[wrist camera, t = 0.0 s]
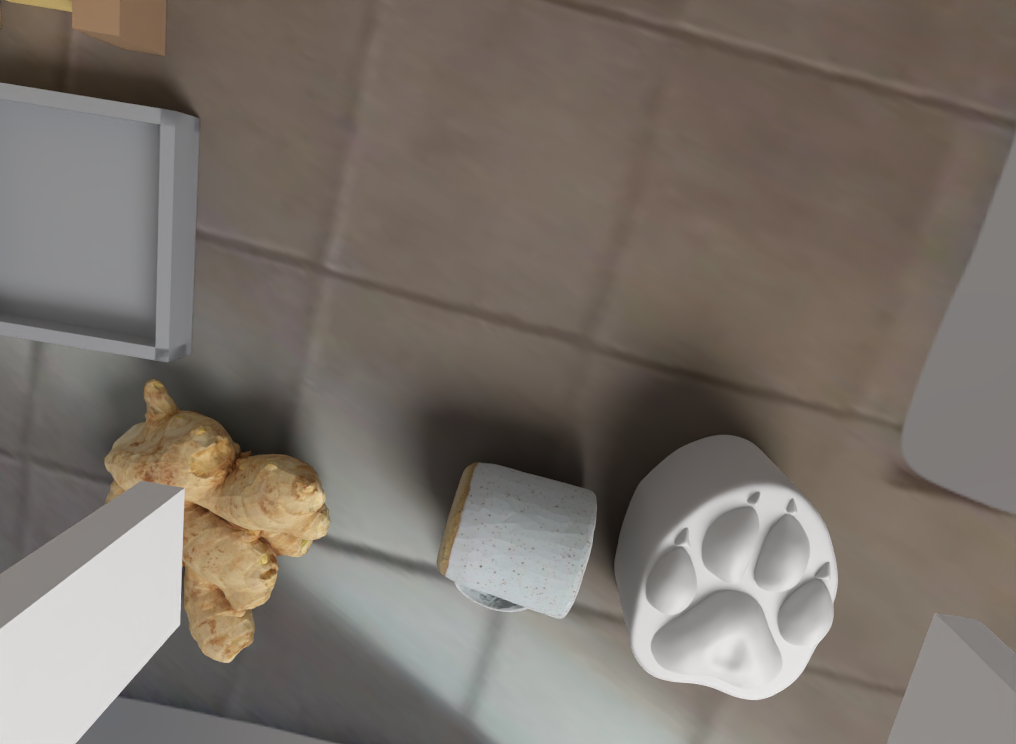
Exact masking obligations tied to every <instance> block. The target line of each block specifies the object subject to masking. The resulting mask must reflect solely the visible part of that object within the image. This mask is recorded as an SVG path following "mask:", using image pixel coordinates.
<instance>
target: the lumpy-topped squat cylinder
mask: <svg viewBox="0 0 1016 744" xmlns="http://www.w3.org/2000/svg"><path fill="white" fill-rule="evenodd" d="M614 572H615V578H616V583H617V587H618V592H619V597H620V601H621V606H622V610H623V615H624V619H625V624H626V628H627V632H628V637H629V642H630V646H631V650H632V652H633V654H634V656H635V658H636V660H637V661H638V663H639V664H640V665H641V666H642V668H643V669H644V670H645V671H647V672H648V673H649V674H651V675H653V676H654V677H657V678H659V679H663V680H667V681H672V682H683V683H695V684H700V685H705V686H709V687H712V688H715V689H717V690H720V691H722V692H725V693H727V694H729V695H732V696H735V697H738V698H742V699H748V700H759V699H763V698H767V697H770V696H773V695H775V694H776V693H778V692H780V691H782V690H783V689H785V688H786V687H788V686H789V685H790V684H791V683H793V682H794V681H795V680H796V679H797V678H798V677H799V675H800V674H801V673H802V671H803V670H804V669H805V667H806V665H807V663H808V661H809V659H810V657H811V655H812V653H813V651H814V649H815V648H816V646H817V644H818V642H820V641H821V640H822V639H823V638H824V637H825V635H826V634H827V632H828V631H829V629H830V627H831V625H832V621H833V616H834V609H833V602H834V599H835V596H836V592H837V586H838V573H837V565H836V559H835V554H834V549H833V545H832V541H831V538H830V534H829V531H828V529H827V527H826V525H825V523H824V521H823V519H822V517H821V516H820V514H819V513H818V511H817V510H816V509H815V507H814V506H813V505H812V504H811V503H810V501H809V500H808V499H807V498H806V497H805V496H804V495H803V493H802V492H801V491H800V490H799V489H798V488H797V487H796V486H795V485H794V484H793V483H792V482H791V481H790V480H789V479H788V478H787V477H786V475H785V474H784V473H783V472H782V471H781V470H780V469H779V468H778V467H777V466H776V465H775V464H774V463H773V462H772V461H771V460H770V459H769V458H768V457H767V456H766V455H765V454H764V453H763V452H762V451H761V450H760V449H759V448H758V447H757V446H756V445H755V444H753V443H752V442H750V441H748V440H746V439H744V438H741V437H737V436H733V435H715V436H710V437H706V438H703V439H700V440H697V441H694V442H692V443H689V444H687V445H685V446H683V447H681V448H679V449H677V450H676V451H674V452H673V453H672V454H670V455H669V456H668V457H666V458H665V459H664V460H663V461H662V462H661V463H659V464H658V465H657V466H656V467H655V468H654V469H653V470H652V471H651V472H650V473H649V474H648V475H647V476H646V477H645V478H644V479H643V480H642V481H641V482H640V483H639V485H638V486H637V488H636V490H635V492H634V494H633V496H632V499H631V501H630V504H629V506H628V509H627V512H626V515H625V518H624V521H623V524H622V528H621V531H620V535H619V540H618V546H617V551H616V556H615V563H614Z"/></svg>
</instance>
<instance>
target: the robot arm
mask: <svg viewBox="0 0 1016 744" xmlns="http://www.w3.org/2000/svg"><path fill="white" fill-rule="evenodd" d="M184 495H185V488H182V487H176V486H170V485H164V484H158V483H152V482H146V481H140V482H139V483H137V484H136V485H134V486H133V487H131V488H130V489H128V490H127V491H125V492H123V493H122V494H120V495H119V496H117V497H116V498H114V499H113V500H111V501H110V502H108V503H107V504H105V505H104V506H102V507H101V508H99V509H98V510H96V511H95V512H93V513H92V514H90V515H89V516H87V517H86V518H84V519H83V520H81V521H80V522H78V523H77V524H75V525H74V526H72V527H71V528H69V529H68V530H66V531H65V532H63V533H62V534H60V535H59V536H57V537H56V538H54V539H53V540H51V541H49V542H48V543H46V544H45V545H43V546H42V547H40V548H39V549H37V550H36V551H34V552H33V553H31V554H30V555H28V556H27V557H25V558H24V559H22V560H21V561H19V562H18V563H16V564H15V565H13V566H12V567H10V568H9V569H7V570H6V571H4V572H3V573H1V574H0V744H75V743H76V742H77V741H78V740H79V739H80V738H81V737H82V735H83V734H84V733H85V732H86V731H87V730H88V729H89V728H90V726H91V725H92V724H93V723H94V722H95V721H96V720H97V718H98V717H99V716H100V715H101V714H102V713H103V711H104V710H105V709H106V708H107V707H108V706H109V704H111V703H112V701H113V700H114V699H115V698H116V697H117V696H118V695H119V693H120V692H121V691H122V690H123V689H124V688H125V687H126V685H127V684H128V683H129V682H130V681H131V680H132V679H133V678H134V676H135V675H136V674H137V673H138V672H139V671H140V670H141V668H142V667H143V666H144V665H145V664H146V663H147V662H148V660H149V659H150V658H151V657H152V656H153V655H154V654H155V653H156V651H157V650H158V649H159V648H160V647H161V646H162V645H163V643H164V642H165V641H166V640H167V639H168V638H169V637H170V635H171V634H172V633H173V632H174V631H175V630H176V629H177V628H178V626H179V625H180V607H181V579H182V551H183V523H184ZM887 744H1016V653H1015V652H1013V651H1012V650H1011V649H1010V648H1009V647H1008V646H1007V645H1006V644H1005V643H1004V642H1002V641H1001V640H1000V639H999V638H998V637H997V636H996V635H995V634H994V633H993V632H991V631H990V630H989V629H988V628H987V627H986V626H985V625H984V624H983V623H982V622H980V621H979V620H975V619H969V618H963V617H957V616H951V615H945V614H939V613H935V614H934V616H933V619H932V622H931V624H930V627H929V630H928V633H927V635H926V638H925V641H924V643H923V646H922V649H921V652H920V654H919V657H918V660H917V662H916V665H915V668H914V670H913V673H912V676H911V679H910V681H909V684H908V687H907V689H906V692H905V695H904V698H903V700H902V703H901V706H900V708H899V711H898V714H897V717H896V719H895V722H894V725H893V727H892V730H891V733H890V736H889V738H888V741H887Z"/></svg>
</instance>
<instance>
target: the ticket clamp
mask: <svg viewBox="0 0 1016 744" xmlns="http://www.w3.org/2000/svg"><path fill="white" fill-rule="evenodd" d="M166 3H167V0H72V28H73V29H75V30H78V31H80V32H82V33H85V34H87V35H90V36H92V37H95V38H97V39H100V40H102V41H104V42H107V43H109V44H112V45H114V46H117V47H119V48H122V49H125V50H131V51H137V52H143V53H150V54H156V55H162V56H165V45H166ZM0 29H1V6H0Z"/></svg>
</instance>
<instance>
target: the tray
mask: <svg viewBox="0 0 1016 744" xmlns="http://www.w3.org/2000/svg"><path fill="white" fill-rule="evenodd" d="M199 128H200V118H197V117H194V116H191V115H187V114H184V113H181V112H177V111H172V110H166V109H160V108H154V107H148V106H142V105H136V104H129V103H123V102H117V101H111V100H105V99H99V98H93V97H86V96H80V95H74V94H68V93H62V92H56V91H49V90H43V89H37V88H31V87H25V86H19V85H13V84H6V83H0V335H5V336H11V337H17V338H23V339H29V340H35V341H41V342H47V343H53V344H59V345H65V346H71V347H77V348H83V349H89V350H96V351H102V352H108V353H114V354H120V355H126V356H132V357H138V358H144V359H150V360H156V361H162V362H168V363H169V362H171V361H174V360H176V359H179V358H182V357H184V356H187V355H189V354H191V345H192V317H193V290H194V263H195V236H196V209H197V182H198V155H199Z"/></svg>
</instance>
